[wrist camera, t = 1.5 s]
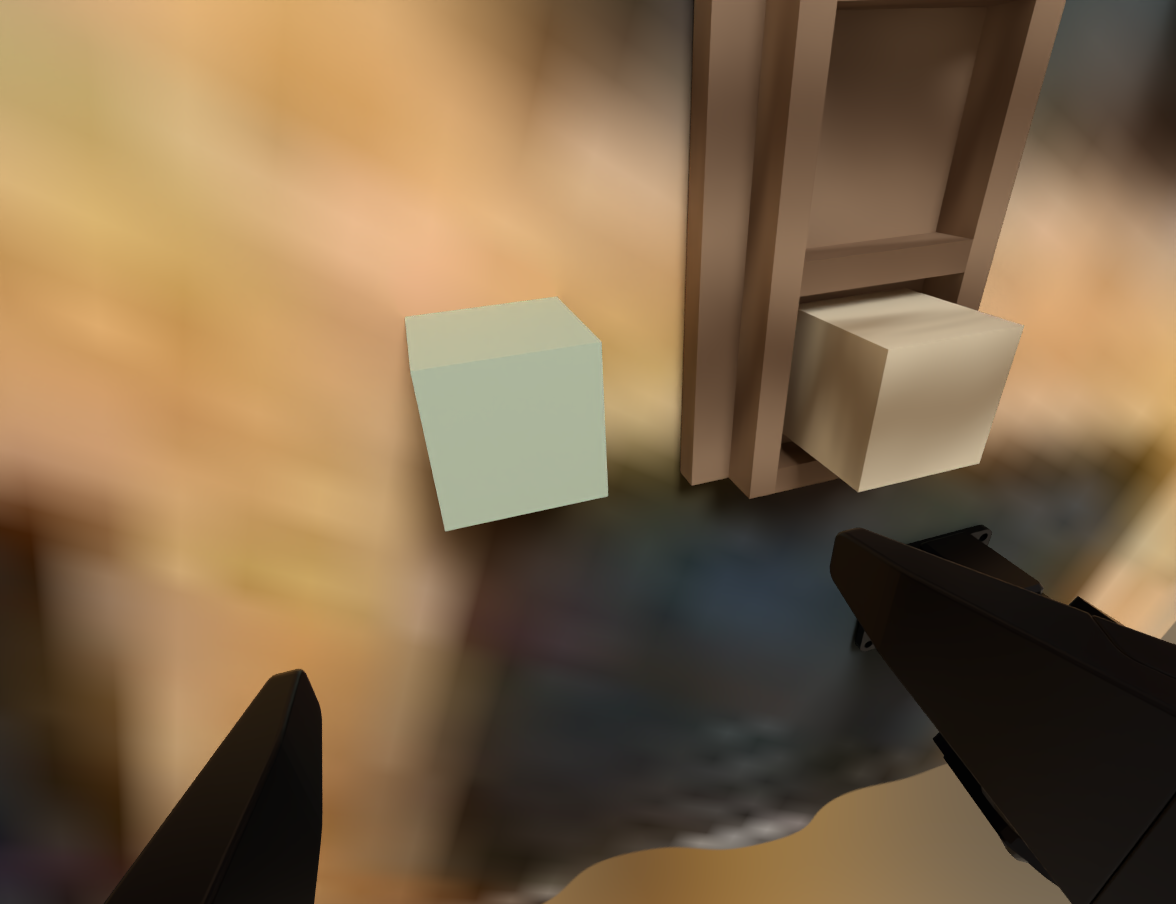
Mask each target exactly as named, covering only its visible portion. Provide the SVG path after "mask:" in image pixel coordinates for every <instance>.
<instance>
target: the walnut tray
mask: <svg viewBox="0 0 1176 904" xmlns="http://www.w3.org/2000/svg"><path fill="white" fill-rule="evenodd" d="M1065 2H1066V0H694V30H693V63H692V96H691V130H690V163H689V196H688V230H687V263H686V296H685V330H684V363H683V396H682V429H681V463H680V472H681V474H682V475H683V476H684V477H685V478H686V480H687V481H688V482H689V483H690V484H691V485H697V484H701V483H706V482H711V481H715V480H720V479H724V478H730V480H731V481H732V482H733V483H734V484H735V485H736V486H737V487H738V488H739V489H740V490H741V491H742V492H743V493H744V494H745V495H746V496H747V497H748V498H749V499H752V498H756V497H760V496H765V495H769V494H773V493H778V492H782V491H786V490H791V489H795V488H799V487H804V486H808V485H812V484H817V483H821V482H825V481H830V480H834V479H838V478H839V477H838V476H837V475H835V474H834V473H833V472H832V471H830V470H829V469H828V468H826V467H825V466H824V465H823V464H821V463H820V462H819V461H817V460H816V459H815V458H814V457H812V456H811V455H810V454H808V453H807V452H806V451H805V450H803V449H802V448H801V447H799V446H798V445H797V444H796V443H794V442H793V441H792V440H791V439H789V438H788V437H787V436H785V435H784V434H783V433H782V432H783V424H784V416H785V408H786V400H787V392H788V384H789V377H790V369H791V361H792V353H793V345H794V337H795V330H796V322H797V314H798V306H799V304H802V303H809V302H815V301H822V300H828V299H835V298H842V297H848V296H855V295H862V294H868V293H875V292H881V291H888V290H895V289H901V288H907V289H910V290H913V291H916V292H920V293H923V294H926V295H929V296H932V297H935V298H939V299H942V300H945V301H948V302H951V303H954V304H958V305H961V306H964V307H967V308H970V309H973V310H977V311H978V309H979V306H980V302H981V299H982V295H983V292H984V288H985V285H986V281H987V277H988V274H989V270H990V267H991V263H992V260H993V256H994V253H995V249H996V246H997V242H998V239H999V235H1000V232H1001V228H1002V224H1003V221H1004V217H1005V214H1006V210H1007V207H1008V203H1009V200H1010V196H1011V193H1012V189H1013V186H1014V182H1015V179H1016V175H1017V172H1018V168H1019V164H1020V161H1021V157H1022V154H1023V150H1024V147H1025V143H1026V140H1027V136H1028V133H1029V129H1030V126H1031V122H1032V119H1033V115H1034V111H1035V108H1036V104H1037V101H1038V97H1039V94H1040V90H1041V87H1042V83H1043V80H1044V76H1045V73H1046V69H1047V66H1048V62H1049V59H1050V55H1051V51H1052V48H1053V44H1054V41H1055V37H1056V34H1057V30H1058V27H1059V23H1060V20H1061V16H1062V13H1063V9H1064V6H1065Z"/></svg>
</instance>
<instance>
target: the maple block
mask: <svg viewBox="0 0 1176 904" xmlns="http://www.w3.org/2000/svg"><path fill="white" fill-rule="evenodd" d="M1023 328H1024V325H1021V324H1018V323H1015V322H1011V321H1008V320H1005V319H1002V318H999V317H996V316H992V315H989V314H986V313H983V312H980V311H977V310H973V309H970V308H967V307H964V306H961V305H958V304H954V303H951V302H948V301H945V300H942V299H939V298H935V297H932V296H929V295H926V294H923V293H920V292H916V291H913V290H910V289H907V288H901V289H895V290H888V291H881V292H875V293H868V294H862V295H855V296H848V297H842V298H835V299H828V300H822V301H815V302H809V303H802V304H799V306H798V314H797V322H796V330H795V337H794V345H793V353H792V361H791V369H790V377H789V384H788V392H787V400H786V408H785V416H784V424H783V432H782V433H783V434H784V435H785V436H787V437H788V438H789V439H791V440H792V441H793V442H794V443H796V444H797V445H798V446H799V447H801V448H802V449H803V450H805V451H806V452H807V453H808V454H810V455H811V456H812V457H814V458H815V459H816V460H817V461H819V462H820V463H821V464H823V465H824V466H825V467H826V468H828V469H829V470H830V471H832V472H833V473H834V474H835V475H837V476H838V477H839V478H841V479H842V480H843V481H844V482H846V483H847V484H848V485H850V486H851V487H852V488H853V489H855V490H856V491H857V492H861V491H866V490H870V489H874V488H878V487H882V486H886V485H891V484H895V483H899V482H903V481H907V480H912V479H916V478H920V477H924V476H928V475H933V474H937V473H941V472H945V471H949V470H953V469H958V468H962V467H966V466H970V465H974V464H979V462H980V459H981V456H982V453H983V450H984V447H985V444H986V441H987V438H988V435H989V432H990V429H991V426H992V423H993V420H994V417H995V413H996V410H997V407H998V404H999V401H1000V398H1001V395H1002V392H1003V389H1004V386H1005V383H1006V380H1007V377H1008V374H1009V371H1010V368H1011V365H1012V362H1013V358H1014V355H1015V352H1016V349H1017V346H1018V343H1019V340H1020V337H1021V334H1022V331H1023Z"/></svg>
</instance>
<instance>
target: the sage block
mask: <svg viewBox="0 0 1176 904" xmlns="http://www.w3.org/2000/svg"><path fill="white" fill-rule="evenodd" d="M405 325H406V335H407V344H408V354H409V364H410V373H411V377H412V382H413V386H414V391H415V395H416V400H417V405H418V409H419V414H420V418H421V423H422V427H423V432H424V436H425V441H426V446H427V450H428V455H429V459H430V464H431V468H432V473H433V478H434V482H435V487H436V491H437V496H438V500H439V505H440V510H441V514H442V519H443V523H444V528H445V531H449V530H454V529H459V528H463V527H468V526H472V525H477V524H482V523H486V522H491V521H496V520H500V519H505V518H509V517H514V516H519V515H523V514H528V513H532V512H537V511H542V510H546V509H551V508H556V507H560V506H565V505H569V504H574V503H579V502H583V501H588V500H592V499H597V498H602V497H606V496H608V482H607V459H606V436H605V412H604V389H603V366H602V343H601V341H600V340H599V339H598V338H597V337H596V336H595V335H594V334H593V333H592V332H591V331H590V330H589V329H588V328H587V327H586V326H585V325H584V324H583V323H582V322H581V321H580V320H579V319H578V318H577V317H576V316H575V315H574V314H573V313H572V312H571V311H570V310H569V309H568V307H567V306H566V305H565V304H564V303H563V302H562V301H561V300H560V299H559V298H558V297H550V298H542V299H535V300H527V301H520V302H512V303H505V304H498V305H490V306H483V307H475V308H468V309H460V310H453V311H445V312H438V313H430V314H423V315H415V316H408V317H405Z"/></svg>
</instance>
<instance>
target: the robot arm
mask: <svg viewBox="0 0 1176 904" xmlns="http://www.w3.org/2000/svg"><path fill="white" fill-rule="evenodd" d="M991 535H992V531H991V530H990V529H988V528H987V527H985V526H984V525H977V526H974V527H970V528H966V529H962V530H959V531H955V532H951V533H948V534H944V535H940V536H936V537H933V538H929V539H925V540H921V541H918V542H914V543H910V544H907V545H906V544H903V543H901V542H898V541H895V540H893V539H890V538H887V537H885V536H882V535H879V534H877V533H874V532H871V531H869V530H866V529H863V528H854V529H850V530H846V531H842V532H840V533H838V535H837V536H836V538H835V542H834V547H833V552H832V557H831V563H830V573H831V577H832V579H833V581H834V583H835V584H836V586H837V588H838V589H839V591H840V592H841V594H842V596H843V597H844V599H845V600H846V602H847V604H848V605H849V607H850V608H851V610H852V612H853V613H854V615H855V616H856V618H857V620H858V621H859V623H860V624H859V628H858V632H857V636H856V640H855V644H856V645H857V646H858V647H859V649H860V650H861V651H869V650H872V649H875V648H876V649H877V651H878V652H879V654H880V655H881V656H882V658H883V659H884V660H885V662H886V663H887V664H888V666H889V667H890V668H891V670H892V671H893V672H894V674H895V675H896V676H897V677H898V679H899V680H900V681H901V683H902V684H903V685H904V687H905V688H906V689H907V690H908V692H909V693H910V694H911V696H912V697H913V698H914V700H915V701H916V702H917V703H918V705H919V706H920V707H921V709H922V710H923V711H924V713H925V714H926V715H927V716H928V718H929V719H930V720H931V722H932V723H933V724H934V725H935V727H936V728H937V729H938V731H939V733H938V734H937V735H936V736H935V737H934V738H933V740H934V742H935V743H936V745H937V746H938V747H939V749H940V750H941V752H942V753H943V754H944V759H945V761H946V762H947V763H948V765H949V766H950V768H951V769H952V770H953V772H954V773H955V775H956V776H957V777H958V779H959V780H960V782H961V783H962V784H963V786H964V787H965V789H966V790H967V792H968V793H969V794H970V796H971V797H972V798H973V800H974V801H975V803H976V804H977V806H978V807H979V808H980V810H981V811H982V813H983V814H984V815H985V817H986V818H987V820H988V821H989V822H990V824H991V825H992V827H993V828H994V829H995V831H996V832H997V833H998V835H999V836H1000V839H1001V840H1002V842H1003V844H1004V846H1005V848H1006V849H1007V851H1008V852H1009V853H1010V854H1011V855H1012V856H1013V857H1014V858H1015V859H1017V860H1019V861H1022V862H1026V863H1029V864H1030V865H1031V866H1033V867H1034V868H1035V869H1036V870H1037V871H1038V872H1040V873H1041V874H1042V875H1043V876H1044V877H1046V878H1047V879H1048V880H1050V881H1051V882H1052V883H1054V884H1056V885H1057V886H1058V887H1059V888H1060V889H1061V890H1062V892H1063V893H1064V894H1065V895H1066V897H1067V898H1068V899H1069V901H1070V902H1071V903H1072V904H1176V645H1175V644H1172V643H1169V642H1166V641H1164V640H1161V639H1158V638H1155V637H1152V636H1150V635H1147V634H1144V633H1141V632H1139V631H1136V630H1133V629H1130V628H1128V627H1125V626H1124V625H1123V624H1121V623H1120V622H1118V621H1116V620H1115V619H1113V618H1112V617H1110V616H1109V615H1107V614H1105V613H1104V612H1102V611H1101V610H1099V609H1098V608H1096V607H1094V606H1093V605H1091V604H1090V603H1088V602H1086V601H1085V600H1083V599H1082V598H1080V597H1079V596H1078V597H1077V598H1075V599H1074V600H1073V601H1072V602H1071V603H1070V604H1069V605H1066V604H1063V603H1061V602H1058V601H1055V600H1053V599H1051V598H1049V597H1048V596H1046V595H1045V594H1044V593H1042V591H1043V589H1044V588H1043V586H1042V585H1041V584H1040V583H1039V582H1038V581H1037V580H1035V579H1034V578H1033V577H1031V576H1030V575H1028V574H1027V573H1025V572H1024V571H1023V570H1021V569H1020V568H1018V567H1017V566H1015V565H1014V564H1013V563H1011V562H1010V561H1008V560H1007V559H1006V558H1004V557H1003V556H1001V555H1000V554H998V553H997V552H996V551H994V550H993V549H991V548H990V547H988V544H989V541H990V538H991ZM321 833H322V716H321V709H320V705H319V702H318V700H317V698H316V695H315V693H314V691H313V688H312V686H311V684H310V681H309V679H308V677H307V675H306V673H305V672H304V671H303V670H302V669H295V670H291V671H287V672H283V673H279V674H276V675H273V676H272V677H271V678H270V679H269V680H268V681H267V682H266V684H265V685H264V686H263V688H262V689H261V690H260V692H259V693H258V694H257V696H256V697H255V699H254V700H253V701H252V703H251V704H250V705H249V707H248V708H247V709H246V711H245V712H244V714H243V715H242V716H241V718H240V719H239V720H238V722H237V723H236V724H235V726H234V727H233V728H232V730H231V731H230V733H229V734H228V735H227V737H226V738H225V739H224V741H223V742H222V743H221V745H220V746H219V748H218V749H217V750H216V752H215V753H214V754H213V756H212V757H211V758H210V760H209V761H208V763H207V764H206V765H205V767H204V768H203V769H202V771H201V772H200V773H199V775H198V776H197V777H196V779H195V780H194V782H193V783H192V784H191V786H190V787H189V788H188V790H187V791H186V792H185V794H184V795H183V797H182V798H181V799H180V801H179V802H178V803H177V805H176V806H175V807H174V809H173V810H172V812H171V813H170V814H169V816H168V817H167V818H166V820H165V821H164V822H163V824H162V825H161V827H160V828H159V829H158V831H157V832H156V833H155V835H154V836H153V837H152V839H151V840H150V841H149V843H148V844H147V846H146V847H145V848H144V850H143V851H142V852H141V854H140V855H139V856H138V858H137V859H136V861H135V862H134V863H133V865H132V866H131V867H130V869H129V870H128V871H127V873H126V874H125V876H124V877H123V878H122V880H121V881H120V882H119V884H118V885H117V886H116V888H115V889H114V890H113V892H112V893H111V895H110V896H109V897H108V899H107V900H106V901H105V903H104V904H314V900H315V890H316V881H317V872H318V863H319V854H320V845H321Z"/></svg>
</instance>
